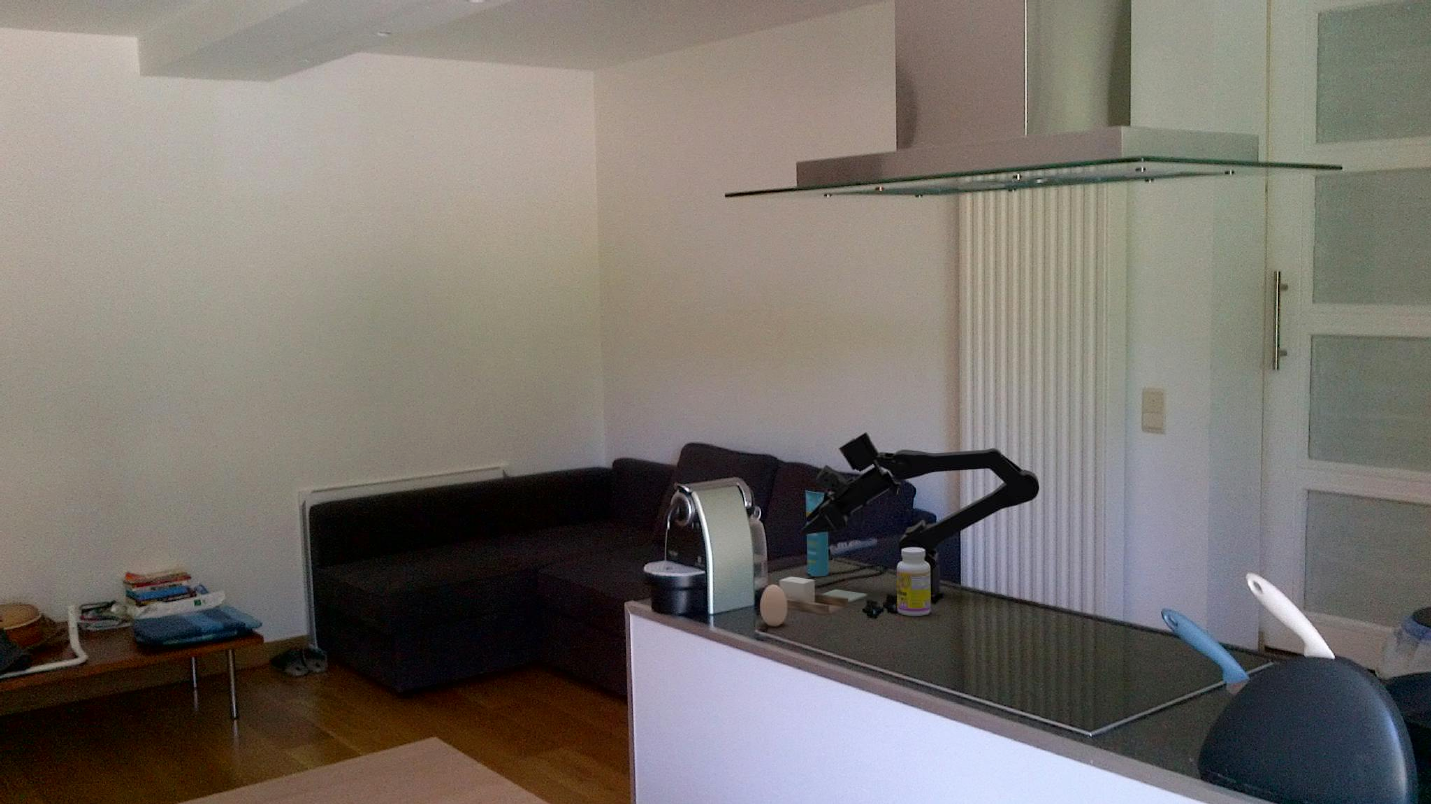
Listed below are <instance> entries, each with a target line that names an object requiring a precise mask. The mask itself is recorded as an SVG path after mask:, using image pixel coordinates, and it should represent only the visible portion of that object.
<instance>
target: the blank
mask: <svg viewBox="0 0 1431 804" xmlns="http://www.w3.org/2000/svg"><path fill="white" fill-rule="evenodd" d="M778 581H779V587H780V588H781V589H782V591H783V593H784V595H785V597H786V598H788V599H794V600H800V601H806V602H812V603H815V593H816V592H815V590H816V589H815V587H816V586H815V579H809V578H803V577H797V576H796V577H795V576H788V577H785V578H781V579H779V580H778Z"/></svg>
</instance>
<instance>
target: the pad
mask: <svg viewBox="0 0 1431 804" xmlns="http://www.w3.org/2000/svg"><path fill="white" fill-rule="evenodd" d="M822 594H824V595H831V596H837V597H843V598H848V599H849V603H851V602H853V601H857V600H859V599H862V598H865V597H867V596H868V594H867V593H862V592H854V591H850V590H849V591H848V590H844V589H836V588H835V589H832V590H830V591H826V592H824V593H822Z"/></svg>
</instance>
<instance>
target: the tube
mask: <svg viewBox="0 0 1431 804" xmlns="http://www.w3.org/2000/svg"><path fill="white" fill-rule="evenodd" d="M824 493H825V492H815V491H811V490H805V506H806V507H805V510H806V511H805V512H806V514H805V515H806V517H807V516H808V515H809V514H810V513H811V512H812V511H813V510H814V509H815V508H816V507H817V506H818V505H819V504H820V503H821V502H822V501H823V498H824ZM806 517H805V518H806ZM809 523H810V522H807V521H806V525H807V524H809ZM806 548H807V549H806V550H807V551H806V552H807V553H806V554H807V556H806V558H807V559H806V560H807V561H806V562H807V563H806V564H807V566H806V567H807V568H806V569H807V573H808V574H810V575H811V576H810V575H809V576H810V577H826V576H829V573H830V571H829V568H830V567H829V565H830V564H829V532H821V533H813V534H806ZM808 574H807V575H808Z"/></svg>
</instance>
